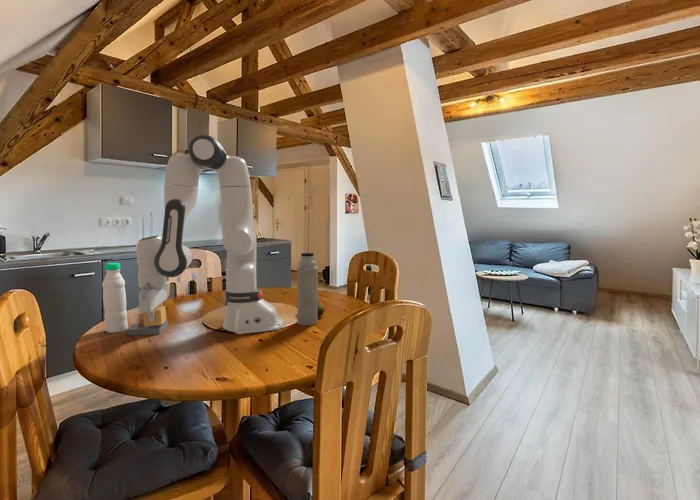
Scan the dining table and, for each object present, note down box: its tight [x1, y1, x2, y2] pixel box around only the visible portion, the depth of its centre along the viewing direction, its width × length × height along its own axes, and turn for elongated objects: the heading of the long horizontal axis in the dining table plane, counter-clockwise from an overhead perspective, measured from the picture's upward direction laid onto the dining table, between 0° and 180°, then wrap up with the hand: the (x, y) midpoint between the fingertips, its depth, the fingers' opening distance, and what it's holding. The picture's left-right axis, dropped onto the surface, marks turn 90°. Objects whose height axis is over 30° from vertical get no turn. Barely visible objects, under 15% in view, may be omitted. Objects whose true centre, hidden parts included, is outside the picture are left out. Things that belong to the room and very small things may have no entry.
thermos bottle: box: [296, 252, 319, 326], centre depth 148 cm, size 8×8×28 cm
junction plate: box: [125, 312, 169, 336], centre depth 137 cm, size 11×10×6 cm
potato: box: [317, 298, 325, 318], centre depth 160 cm, size 8×13×8 cm, turn 14°
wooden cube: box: [144, 305, 167, 326], centre depth 137 cm, size 6×6×6 cm
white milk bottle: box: [101, 262, 129, 334], centre depth 136 cm, size 7×7×25 cm
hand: (155, 317), depth 137 cm, fingers closed on wooden cube, 6 cm apart
